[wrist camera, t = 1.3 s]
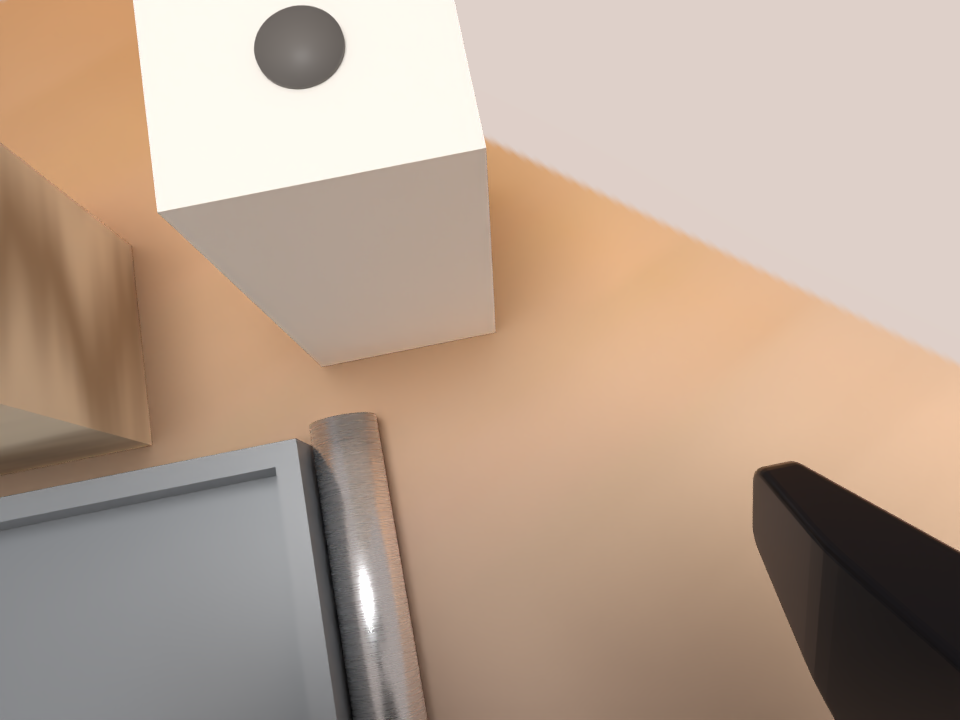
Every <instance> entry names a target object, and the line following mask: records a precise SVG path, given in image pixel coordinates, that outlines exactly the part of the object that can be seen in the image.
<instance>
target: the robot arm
mask: <svg viewBox="0 0 960 720" xmlns="http://www.w3.org/2000/svg"><path fill="white" fill-rule="evenodd" d="M753 534H754V538H755V542H756V545H757V548H758V550H759V553H760V555H761V558H762V560H763V562H764V565H765V567H766V570H767V572H768V574H769V577H770V579H771V581H772V584H773V586H774V589H775V591H776V593H777V596H778V598H779V600H780V603H781V605H782V608H783V610H784V612H785V615H786V617H787V619H788V622H789V624H790V627H791V629H792V631H793V634H794V636H795V638H796V641H797V643H798V646H799V648H800V650H801V653H802V655H803V657H804V660H805V662H806V664H807V666H808V669H809V671H810V673H811V675H812V678H813V680H814V682H815V684H816V686H817V688H818V690H819V691H820V693H821V695H822V697H823V699H824V701H825V703H826V705H827V706H828V708H829V710H830V712H831V714H832V715H833V717H834V719H835V720H960V551H958V550H956V549H954V548H952V547H951V546H949V545H947V544H945V543H943V542H942V541H940V540H938V539H936V538H934V537H932V536H931V535H929V534H927V533H925V532H923V531H922V530H920V529H918V528H916V527H914V526H913V525H911V524H909V523H907V522H905V521H904V520H902V519H900V518H898V517H896V516H895V515H893V514H891V513H889V512H887V511H885V510H884V509H882V508H880V507H878V506H876V505H875V504H873V503H871V502H869V501H867V500H866V499H864V498H862V497H860V496H858V495H857V494H855V493H853V492H851V491H849V490H847V489H846V488H844V487H842V486H840V485H838V484H837V483H835V482H833V481H831V480H829V479H828V478H826V477H824V476H822V475H820V474H819V473H817V472H815V471H813V470H811V469H810V468H808V467H806V466H804V465H802V464H800V463H797V462H794V461H788V462H783V463H779V464H774V465H769V466H764V467H761V468H759V469H758V470H757V471H756V472H755V474H754V478H753Z"/></svg>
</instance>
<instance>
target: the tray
mask: <svg viewBox="0 0 960 720" xmlns="http://www.w3.org/2000/svg"><path fill="white" fill-rule="evenodd" d="M0 720H353V715H352V708H351V702H350V695H349V688H348V682H347V675H346V668H345V662H344V655H343V648H342V642H341V635H340V628H339V622H338V615H337V608H336V602H335V595H334V588H333V582H332V575H331V568H330V561H329V555H328V548H327V541H326V535H325V528H324V521H323V515H322V508H321V501H320V495H319V488H318V481H317V475H316V468H315V461H314V455H313V448H312V446H310V445H308V444H306V443H304V442H302V441H300V440H298V439H291V440H286V441H281V442H276V443H271V444H266V445H261V446H256V447H251V448H246V449H241V450H236V451H231V452H226V453H221V454H216V455H211V456H206V457H201V458H196V459H191V460H186V461H181V462H176V463H171V464H166V465H161V466H156V467H151V468H146V469H141V470H136V471H131V472H126V473H121V474H116V475H111V476H106V477H101V478H96V479H91V480H86V481H81V482H76V483H71V484H66V485H61V486H56V487H51V488H46V489H41V490H36V491H31V492H26V493H21V494H16V495H11V496H6V497H1V498H0Z"/></svg>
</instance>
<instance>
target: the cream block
mask: <svg viewBox="0 0 960 720" xmlns="http://www.w3.org/2000/svg"><path fill="white" fill-rule="evenodd" d="M133 3H134V12H135V21H136V29H137V38H138V47H139V56H140V64H141V73H142V82H143V90H144V99H145V108H146V117H147V125H148V134H149V143H150V152H151V160H152V169H153V178H154V186H155V195H156V204H157V212H158V213H159V214H160V215H161V216H162V217H163V218H164V219H165V220H166V221H167V222H168V223H169V224H170V225H172V226H173V227H174V228H175V229H176V230H177V231H178V232H179V233H180V234H181V235H182V236H183V237H184V238H185V239H186V240H187V241H189V242H190V243H191V244H192V245H193V246H194V247H195V248H196V249H197V250H198V251H199V252H200V253H201V254H202V255H203V256H205V257H206V258H207V259H208V260H209V261H210V262H211V263H212V264H213V265H214V266H215V267H216V268H217V269H218V270H219V271H221V272H222V273H223V274H224V275H225V276H226V277H227V278H228V279H229V280H230V281H231V282H232V283H233V284H234V285H235V286H237V287H238V288H239V289H240V290H241V291H242V292H243V293H244V294H245V295H246V296H247V297H248V298H249V299H250V300H251V301H252V302H254V303H255V304H256V305H257V306H258V307H259V308H260V309H261V310H262V311H263V312H264V313H265V314H266V315H267V316H268V317H270V318H271V319H272V320H273V321H274V322H275V323H276V324H277V325H278V326H279V327H280V328H281V329H282V330H283V331H284V332H286V333H287V334H288V335H289V336H290V337H291V338H292V339H293V340H294V341H295V342H296V343H297V344H298V345H299V346H300V347H302V348H303V349H304V350H305V351H306V352H307V353H308V354H309V355H310V356H311V357H312V358H313V359H314V360H315V361H316V362H317V363H319V364H320V365H321V366H322V367H324V366H329V365H334V364H339V363H344V362H349V361H354V360H359V359H364V358H369V357H374V356H379V355H384V354H389V353H394V352H399V351H404V350H409V349H415V348H420V347H425V346H430V345H435V344H440V343H445V342H450V341H455V340H460V339H465V338H470V337H475V336H480V335H485V334H490V333H495V332H496V327H495V308H494V289H493V270H492V251H491V232H490V213H489V194H488V174H487V155H486V145H485V140H484V136H483V131H482V127H481V122H480V117H479V113H478V108H477V104H476V99H475V95H474V90H473V85H472V80H471V76H470V71H469V67H468V62H467V57H466V53H465V48H464V43H463V39H462V34H461V30H460V25H459V21H458V16H457V11H456V7H455V2H454V0H133Z"/></svg>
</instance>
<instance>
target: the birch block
mask: <svg viewBox="0 0 960 720" xmlns="http://www.w3.org/2000/svg"><path fill="white" fill-rule="evenodd" d="M151 445H152V436H151V427H150V417H149V408H148V398H147V389H146V379H145V369H144V360H143V350H142V341H141V331H140V322H139V312H138V303H137V293H136V283H135V274H134V264H133V255H132V246H131V245H130V244H129V243H127V242H126V241H125V240H124V239H122V238H121V237H120V236H118V235H117V234H116V233H115V232H113V231H112V230H111V229H110V228H108V227H107V226H106V225H105V224H103V223H102V222H101V221H99V220H98V219H97V218H96V217H94V216H93V215H92V214H91V213H89V212H88V211H87V210H85V209H84V208H83V207H82V206H80V205H79V204H78V203H77V202H75V201H74V200H73V199H72V198H70V197H69V196H68V195H66V194H65V193H64V192H63V191H61V190H60V189H59V188H58V187H56V186H55V185H54V184H52V183H51V182H50V181H49V180H47V179H46V178H45V177H44V176H42V175H41V174H40V173H39V172H37V171H36V170H35V169H33V168H32V167H31V166H30V165H28V164H27V163H26V162H25V161H23V160H22V159H21V158H20V157H18V156H17V155H16V154H14V153H13V152H12V151H11V150H9V149H8V148H7V147H6V146H4V145H3V144H2V143H0V475H5V474H10V473H15V472H20V471H25V470H30V469H35V468H40V467H45V466H50V465H55V464H60V463H65V462H70V461H75V460H80V459H85V458H90V457H96V456H101V455H106V454H111V453H116V452H121V451H126V450H131V449H136V448H141V447H146V446H151Z"/></svg>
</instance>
